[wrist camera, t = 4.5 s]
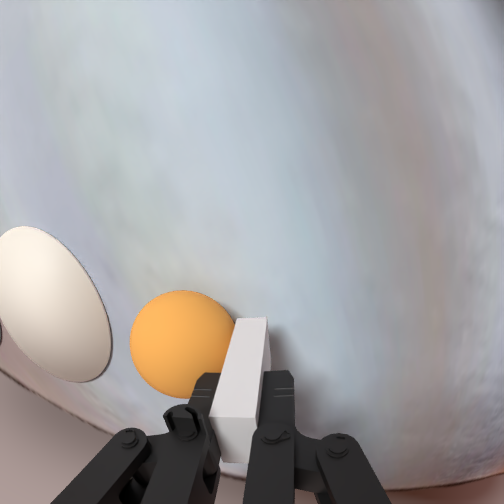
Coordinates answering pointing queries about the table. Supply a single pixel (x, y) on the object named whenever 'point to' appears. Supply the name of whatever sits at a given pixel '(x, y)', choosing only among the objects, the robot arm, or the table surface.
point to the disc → (52, 306)
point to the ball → (180, 341)
